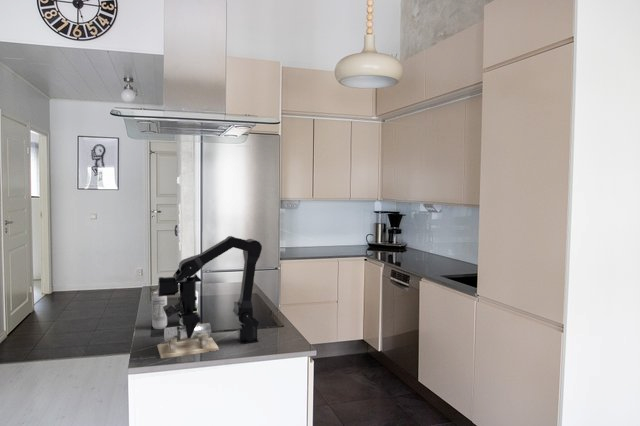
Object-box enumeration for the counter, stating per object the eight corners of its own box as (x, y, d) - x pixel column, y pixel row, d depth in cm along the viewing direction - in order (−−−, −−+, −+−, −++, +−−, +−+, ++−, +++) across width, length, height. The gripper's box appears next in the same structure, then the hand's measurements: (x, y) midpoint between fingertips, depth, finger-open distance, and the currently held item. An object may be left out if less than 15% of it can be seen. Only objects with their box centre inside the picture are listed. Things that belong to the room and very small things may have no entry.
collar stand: (211, 339, 176) (211, 324, 176) (218, 350, 166) (218, 334, 165) (157, 347, 168) (157, 331, 168) (160, 358, 157) (160, 341, 157)
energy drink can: (169, 325, 194) (169, 290, 193) (163, 329, 188) (163, 294, 187) (155, 324, 194) (155, 290, 193) (149, 329, 188) (149, 293, 187)
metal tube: (208, 334, 172) (208, 320, 172) (211, 338, 168) (211, 324, 167) (164, 339, 166) (164, 325, 165) (165, 344, 161) (165, 330, 161)
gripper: (161, 290, 171) (162, 330, 172) (167, 302, 154) (168, 347, 155) (192, 287, 175) (192, 327, 176) (200, 299, 158) (201, 342, 159)
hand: (187, 335), depth 167 cm, fingers closed on metal tube, 5 cm apart
